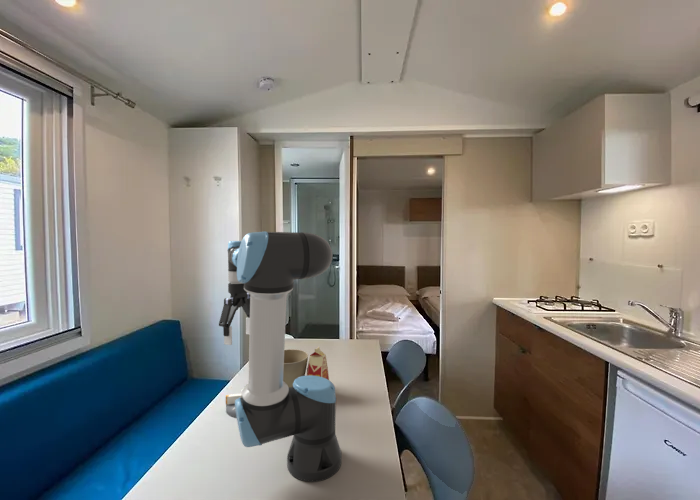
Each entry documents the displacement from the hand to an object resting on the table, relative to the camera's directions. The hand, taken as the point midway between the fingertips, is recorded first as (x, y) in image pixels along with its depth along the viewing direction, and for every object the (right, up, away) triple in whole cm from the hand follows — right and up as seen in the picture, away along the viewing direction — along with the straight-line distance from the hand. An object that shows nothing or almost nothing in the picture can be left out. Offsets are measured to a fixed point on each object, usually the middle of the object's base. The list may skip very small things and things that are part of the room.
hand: (239, 339), depth 122 cm
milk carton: (+29, -25, +6) cm, 38 cm away
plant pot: (+18, -24, +7) cm, 31 cm away
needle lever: (+1, -22, -3) cm, 22 cm away
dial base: (+3, -25, -2) cm, 25 cm away
